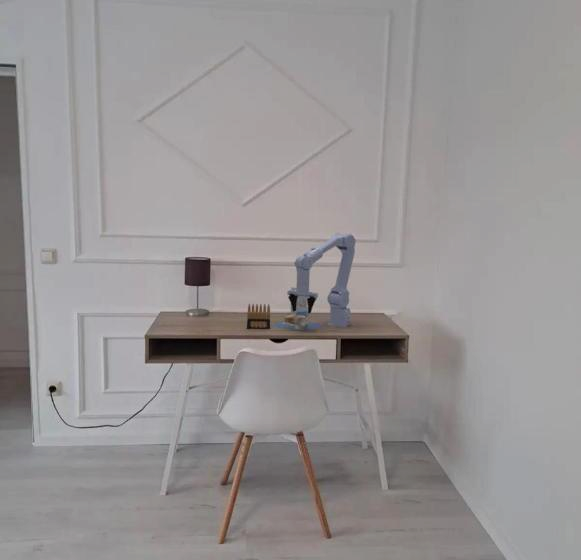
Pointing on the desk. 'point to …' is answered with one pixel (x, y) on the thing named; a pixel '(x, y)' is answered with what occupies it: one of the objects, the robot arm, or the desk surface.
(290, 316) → the base slab
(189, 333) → the desk surface
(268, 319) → the ammunition clip
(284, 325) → the board
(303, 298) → the ink box
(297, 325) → the top block
